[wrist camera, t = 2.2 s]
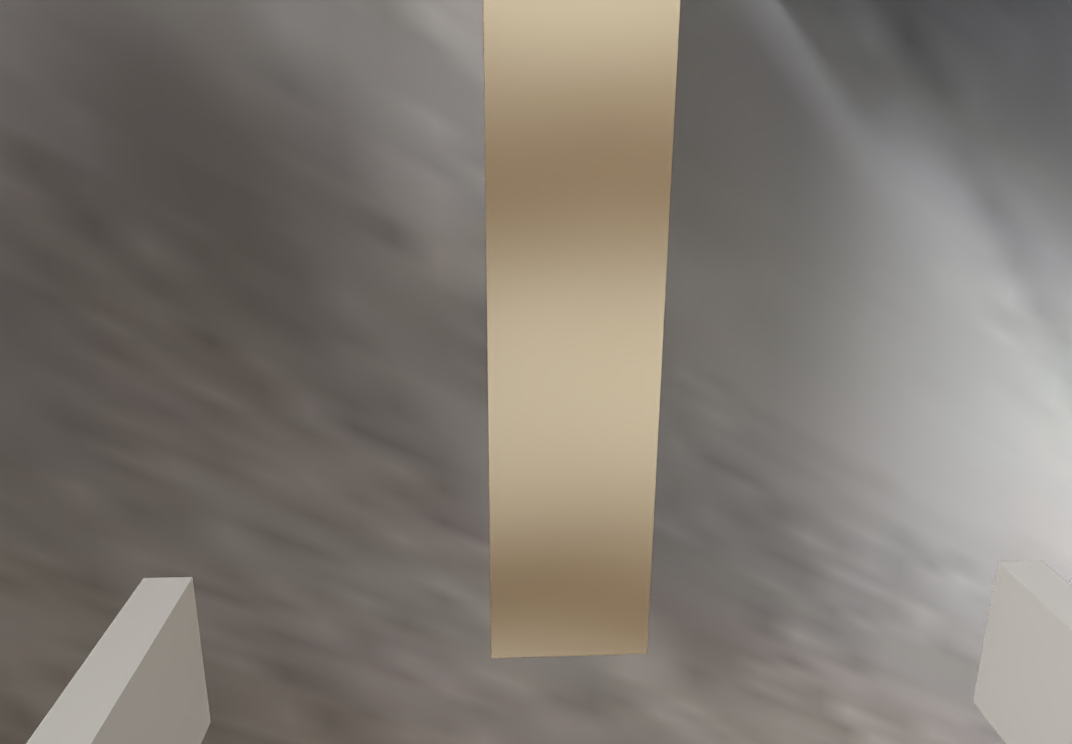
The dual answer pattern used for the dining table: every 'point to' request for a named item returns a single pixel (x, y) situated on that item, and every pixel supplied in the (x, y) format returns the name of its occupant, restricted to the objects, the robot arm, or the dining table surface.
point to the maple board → (575, 315)
